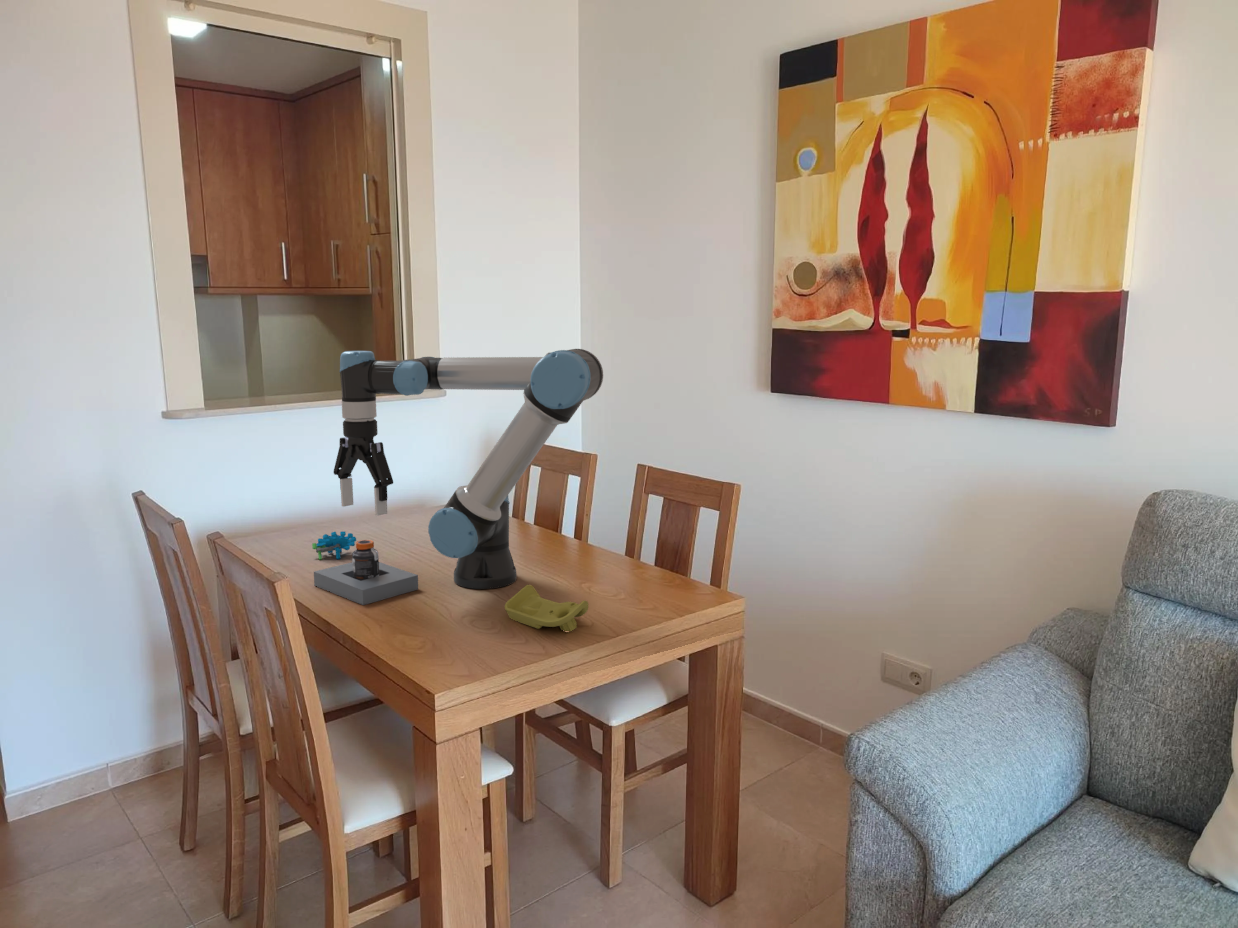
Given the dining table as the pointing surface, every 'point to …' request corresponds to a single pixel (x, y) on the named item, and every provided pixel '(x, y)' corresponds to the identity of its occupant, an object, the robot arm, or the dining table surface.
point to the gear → (334, 543)
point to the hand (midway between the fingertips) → (364, 510)
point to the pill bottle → (365, 560)
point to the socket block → (366, 583)
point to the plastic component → (543, 610)
